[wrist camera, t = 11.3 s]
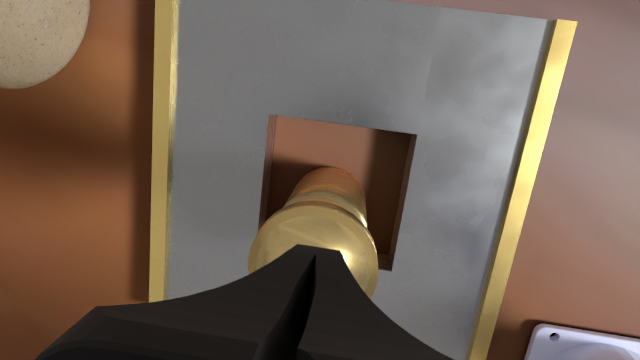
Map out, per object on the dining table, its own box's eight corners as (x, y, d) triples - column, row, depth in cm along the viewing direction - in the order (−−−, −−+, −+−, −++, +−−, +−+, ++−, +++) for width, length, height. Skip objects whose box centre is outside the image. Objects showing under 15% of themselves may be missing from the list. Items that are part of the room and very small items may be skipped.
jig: (551, 28, 19) (577, 21, 16) (467, 356, 23) (478, 385, 21) (178, -16, 20) (155, -29, 17) (167, 305, 24) (148, 328, 22)
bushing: (377, 167, 21) (387, 217, 13) (365, 247, 22) (368, 336, 14) (290, 156, 21) (252, 198, 14) (283, 236, 22) (243, 317, 15)
